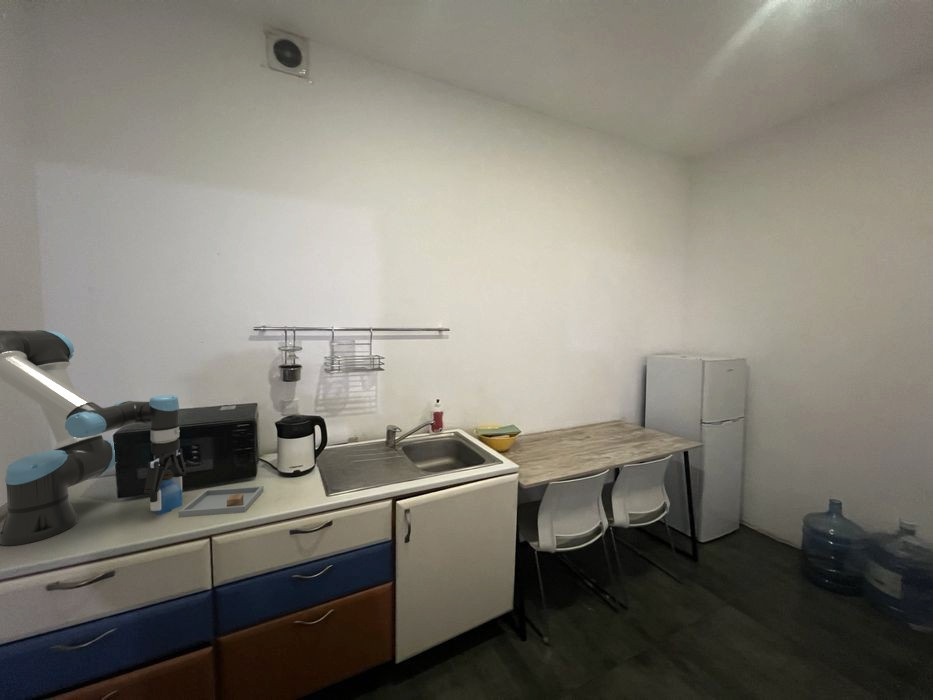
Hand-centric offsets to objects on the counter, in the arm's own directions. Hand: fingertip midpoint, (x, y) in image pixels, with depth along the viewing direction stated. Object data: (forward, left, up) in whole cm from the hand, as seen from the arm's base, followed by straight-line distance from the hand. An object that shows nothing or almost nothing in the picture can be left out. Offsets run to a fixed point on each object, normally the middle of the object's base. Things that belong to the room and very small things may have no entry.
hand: (167, 501), depth 119 cm
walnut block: (+23, -4, -2) cm, 24 cm away
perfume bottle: (0, 0, -3) cm, 3 cm away
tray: (+18, 0, -2) cm, 18 cm away
